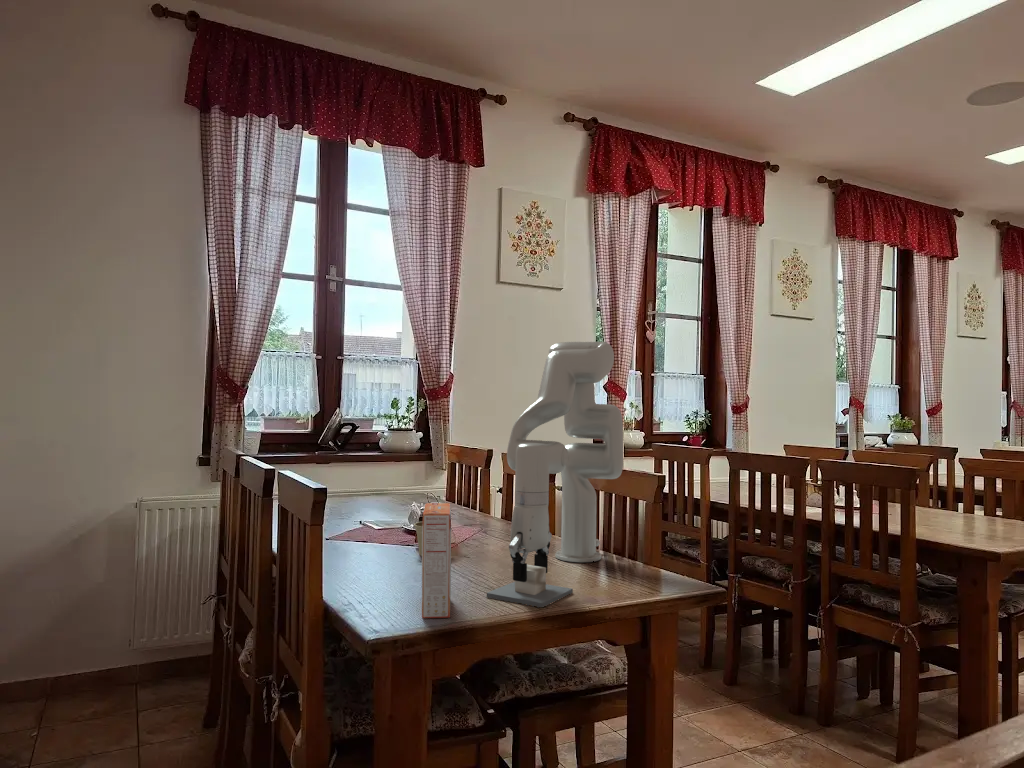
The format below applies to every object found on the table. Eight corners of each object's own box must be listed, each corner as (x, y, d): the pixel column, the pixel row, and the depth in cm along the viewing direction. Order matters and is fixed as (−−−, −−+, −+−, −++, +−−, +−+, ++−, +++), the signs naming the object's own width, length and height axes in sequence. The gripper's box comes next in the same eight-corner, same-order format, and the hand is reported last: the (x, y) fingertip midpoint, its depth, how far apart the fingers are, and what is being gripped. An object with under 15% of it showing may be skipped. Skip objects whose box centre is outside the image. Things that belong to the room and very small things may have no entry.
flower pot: (406, 556, 197) (407, 525, 197) (423, 550, 206) (424, 519, 206) (437, 560, 193) (438, 527, 194) (453, 553, 202) (453, 522, 202)
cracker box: (422, 599, 156) (424, 502, 157) (450, 599, 157) (452, 502, 157) (419, 619, 142) (421, 512, 143) (450, 619, 143) (452, 512, 143)
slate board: (519, 583, 170) (519, 579, 170) (572, 593, 163) (572, 588, 163) (486, 597, 159) (486, 592, 159) (542, 608, 151) (542, 603, 151)
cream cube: (526, 586, 164) (526, 564, 164) (545, 589, 162) (545, 567, 162) (514, 591, 160) (515, 568, 160) (534, 594, 157) (534, 571, 158)
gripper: (536, 493, 171) (535, 567, 170) (496, 501, 156) (495, 582, 155) (564, 496, 167) (563, 571, 166) (526, 505, 152) (525, 587, 152)
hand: (530, 576), depth 161 cm, fingers open, 8 cm apart
